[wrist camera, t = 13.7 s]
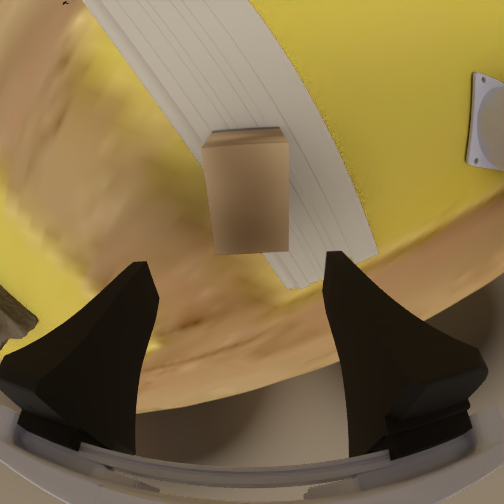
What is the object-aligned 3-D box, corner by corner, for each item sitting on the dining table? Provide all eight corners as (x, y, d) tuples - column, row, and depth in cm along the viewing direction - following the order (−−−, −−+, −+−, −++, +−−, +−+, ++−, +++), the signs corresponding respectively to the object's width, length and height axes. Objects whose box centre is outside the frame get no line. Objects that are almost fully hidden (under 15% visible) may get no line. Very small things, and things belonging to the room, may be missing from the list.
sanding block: (278, 126, 16) (288, 142, 12) (280, 214, 19) (288, 251, 16) (212, 130, 16) (201, 148, 12) (222, 217, 19) (216, 255, 16)
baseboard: (272, 289, 26) (373, 243, 23) (273, 312, 24) (385, 262, 21) (69, 8, 11) (180, -72, 8) (48, 5, 9) (171, -88, 6)
